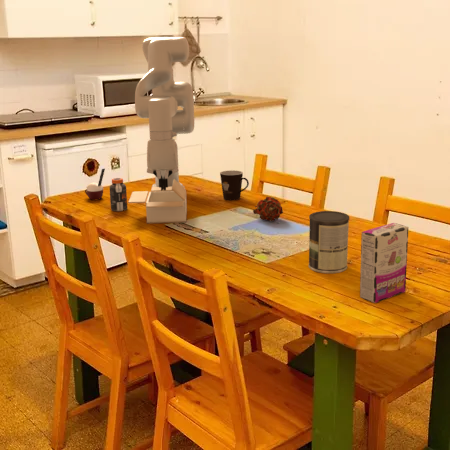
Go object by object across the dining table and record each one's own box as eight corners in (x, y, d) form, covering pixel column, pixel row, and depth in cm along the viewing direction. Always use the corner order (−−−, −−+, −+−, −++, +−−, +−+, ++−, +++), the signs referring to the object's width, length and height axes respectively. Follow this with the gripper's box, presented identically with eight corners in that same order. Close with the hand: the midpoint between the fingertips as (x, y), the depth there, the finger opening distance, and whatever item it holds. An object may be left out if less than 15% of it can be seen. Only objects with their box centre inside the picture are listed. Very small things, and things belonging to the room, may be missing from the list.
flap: (184, 190, 226) (173, 180, 225) (185, 189, 226) (174, 178, 224) (183, 200, 212) (171, 189, 210) (184, 199, 211) (172, 188, 210)
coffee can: (300, 268, 169) (301, 217, 165) (321, 257, 177) (322, 208, 173) (334, 276, 163) (336, 223, 159) (354, 265, 171) (356, 214, 167)
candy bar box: (389, 286, 156) (393, 221, 151) (406, 292, 152) (410, 226, 148) (357, 297, 150) (360, 230, 145) (374, 304, 146) (377, 235, 141)
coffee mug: (216, 197, 245) (216, 171, 242) (237, 194, 249) (236, 169, 246) (229, 204, 235) (229, 177, 232) (250, 201, 239) (250, 175, 236)
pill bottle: (126, 211, 228) (124, 180, 225) (109, 211, 228) (107, 180, 225) (128, 207, 234) (126, 176, 231) (112, 207, 234) (110, 177, 231)
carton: (135, 207, 233) (134, 187, 231) (187, 205, 234) (186, 186, 232) (127, 229, 207) (126, 206, 205) (185, 227, 208) (184, 205, 205)
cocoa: (83, 199, 248) (78, 169, 245) (97, 195, 252) (93, 166, 249) (96, 202, 241) (92, 171, 238) (110, 198, 245) (106, 168, 242)
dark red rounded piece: (277, 229, 209) (258, 225, 219) (293, 211, 211) (274, 208, 222) (262, 210, 206) (244, 208, 216) (279, 192, 208) (260, 190, 218)
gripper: (183, 133, 216) (185, 186, 222) (139, 134, 216) (142, 187, 221) (183, 137, 209) (185, 191, 214) (137, 138, 209) (140, 192, 214)
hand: (163, 189), depth 218 cm, fingers closed
